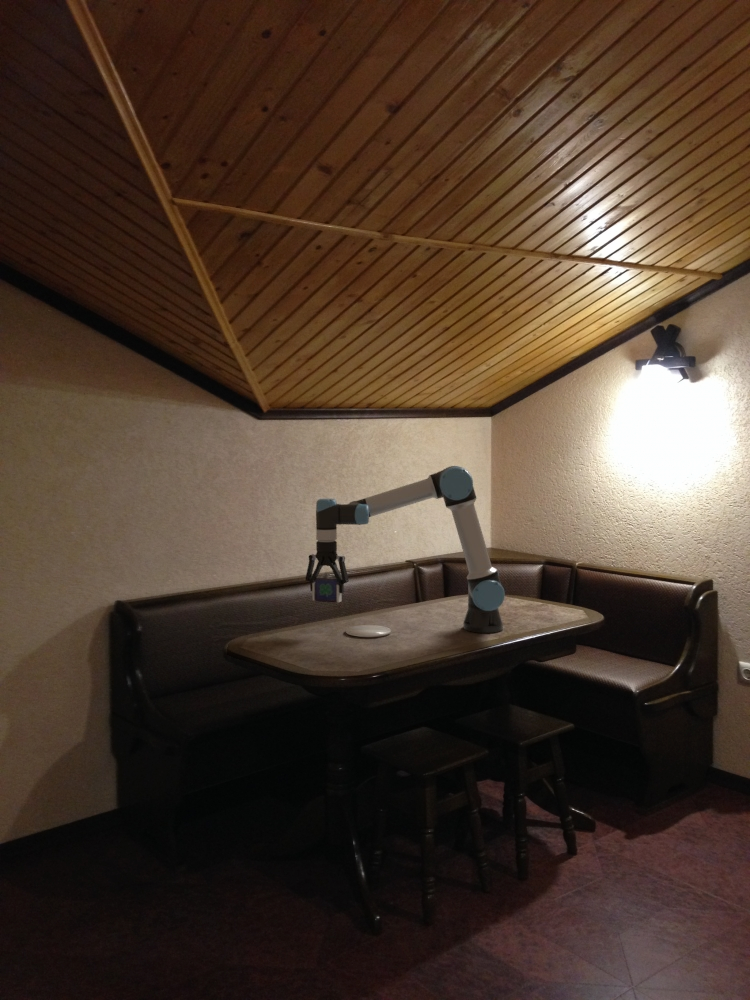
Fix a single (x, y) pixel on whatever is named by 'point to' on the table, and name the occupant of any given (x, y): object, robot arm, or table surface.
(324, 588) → the blue hip flask
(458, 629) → the table surface
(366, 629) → the plate
